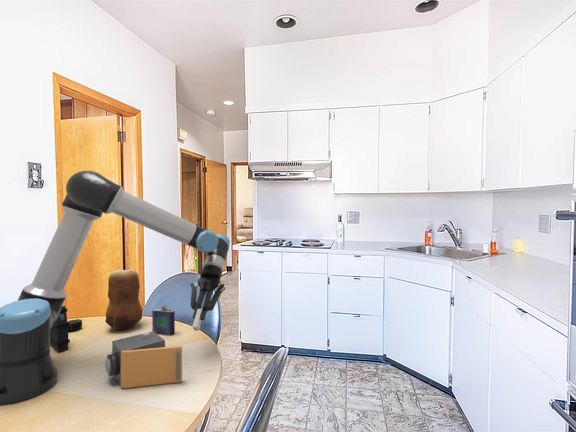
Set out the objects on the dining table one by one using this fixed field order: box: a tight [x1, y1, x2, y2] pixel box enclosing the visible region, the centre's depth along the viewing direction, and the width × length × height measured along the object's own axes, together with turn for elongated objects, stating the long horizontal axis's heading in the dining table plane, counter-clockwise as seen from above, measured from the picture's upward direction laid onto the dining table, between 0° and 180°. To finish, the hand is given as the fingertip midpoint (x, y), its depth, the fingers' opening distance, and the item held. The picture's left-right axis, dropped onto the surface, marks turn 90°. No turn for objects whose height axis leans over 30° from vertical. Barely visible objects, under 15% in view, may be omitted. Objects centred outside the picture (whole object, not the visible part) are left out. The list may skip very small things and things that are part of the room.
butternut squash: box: [104, 269, 143, 330], centre depth 131 cm, size 14×13×25 cm
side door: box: [120, 345, 183, 389], centre depth 87 cm, size 16×2×10 cm, turn 104°
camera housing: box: [104, 330, 166, 387], centre depth 93 cm, size 14×10×11 cm
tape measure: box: [67, 318, 83, 332], centre depth 128 cm, size 7×7×4 cm
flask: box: [151, 304, 176, 337], centre depth 125 cm, size 10×3×12 cm, turn 76°
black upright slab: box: [50, 305, 71, 353], centre depth 112 cm, size 4×13×15 cm, turn 50°
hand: (195, 328), depth 102 cm, fingers closed
